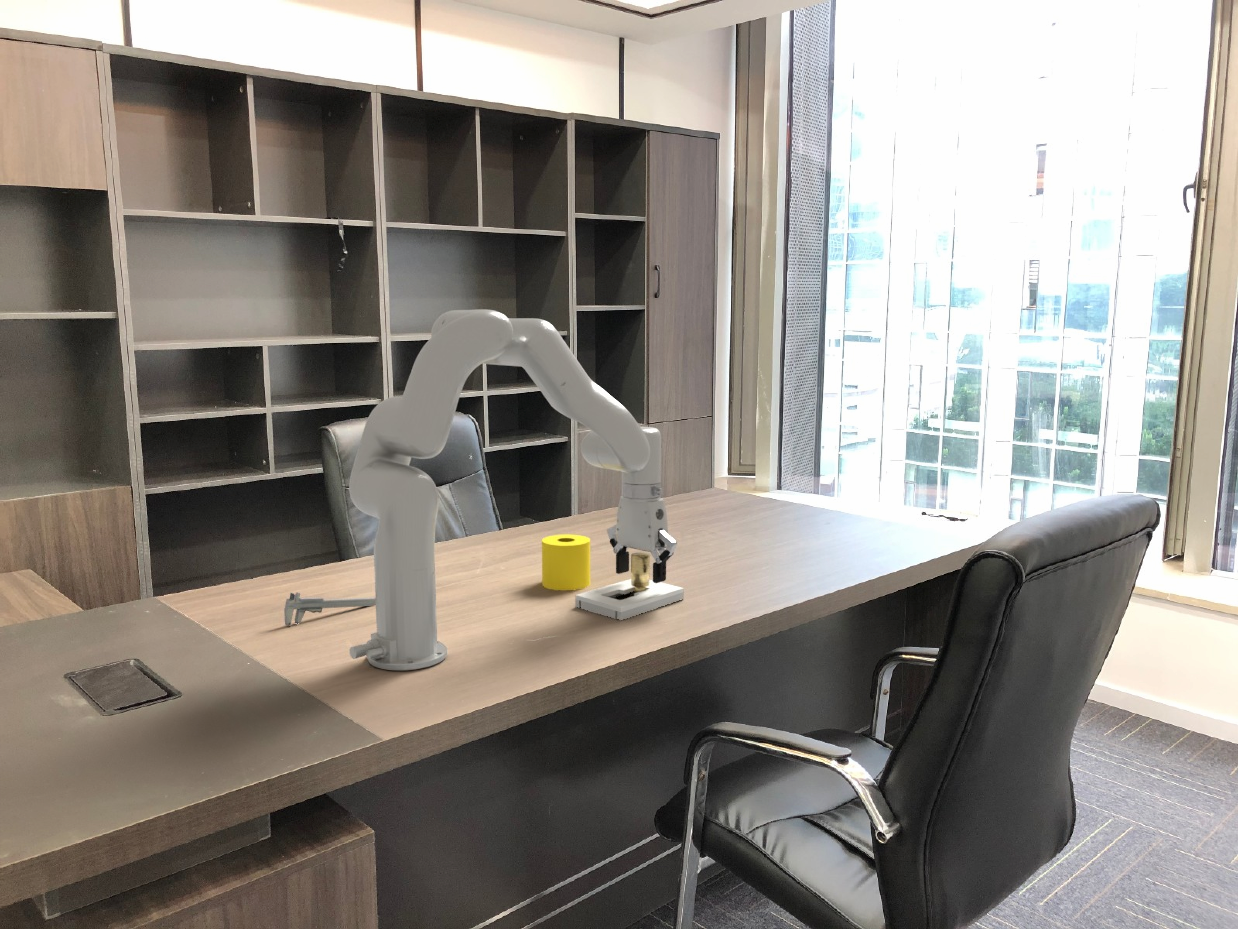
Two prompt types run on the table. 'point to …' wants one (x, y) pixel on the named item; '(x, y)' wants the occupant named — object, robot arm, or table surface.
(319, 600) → the caliper
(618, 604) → the keyhole plate
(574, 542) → the yellow toilet paper roll
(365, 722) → the table surface
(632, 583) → the brass peg
